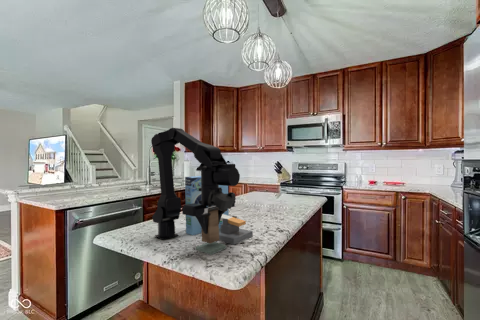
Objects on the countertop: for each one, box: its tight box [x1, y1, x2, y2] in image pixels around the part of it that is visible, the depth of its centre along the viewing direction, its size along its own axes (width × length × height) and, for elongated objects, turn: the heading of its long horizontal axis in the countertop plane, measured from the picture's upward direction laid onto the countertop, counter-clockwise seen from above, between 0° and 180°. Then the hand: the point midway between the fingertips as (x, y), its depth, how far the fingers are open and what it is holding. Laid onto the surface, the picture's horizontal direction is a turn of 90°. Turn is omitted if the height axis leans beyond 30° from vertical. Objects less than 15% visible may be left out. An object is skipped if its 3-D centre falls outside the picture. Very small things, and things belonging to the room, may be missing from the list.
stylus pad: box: [195, 241, 227, 256], centre depth 78 cm, size 7×7×1 cm
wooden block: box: [201, 209, 219, 243], centre depth 78 cm, size 4×4×10 cm
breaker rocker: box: [220, 214, 247, 228], centre depth 90 cm, size 12×4×1 cm, turn 51°
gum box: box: [184, 175, 230, 236], centre depth 101 cm, size 20×5×23 cm, turn 134°
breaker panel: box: [218, 215, 254, 245], centre depth 90 cm, size 13×11×7 cm
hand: (210, 232), depth 78 cm, fingers closed on wooden block, 4 cm apart
